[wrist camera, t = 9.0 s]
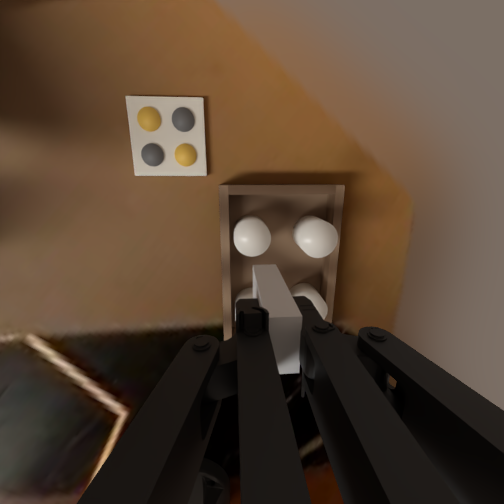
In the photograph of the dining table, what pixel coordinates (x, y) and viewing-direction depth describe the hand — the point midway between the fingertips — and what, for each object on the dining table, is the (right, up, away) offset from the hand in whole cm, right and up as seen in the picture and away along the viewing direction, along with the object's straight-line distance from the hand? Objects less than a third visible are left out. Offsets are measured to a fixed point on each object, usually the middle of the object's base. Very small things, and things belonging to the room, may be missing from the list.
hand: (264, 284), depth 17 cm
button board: (+2, +1, +17) cm, 17 cm away
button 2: (+6, +5, +14) cm, 16 cm away
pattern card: (-10, +15, +12) cm, 22 cm away
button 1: (+6, -4, +18) cm, 19 cm away
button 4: (-1, +5, +15) cm, 16 cm away
